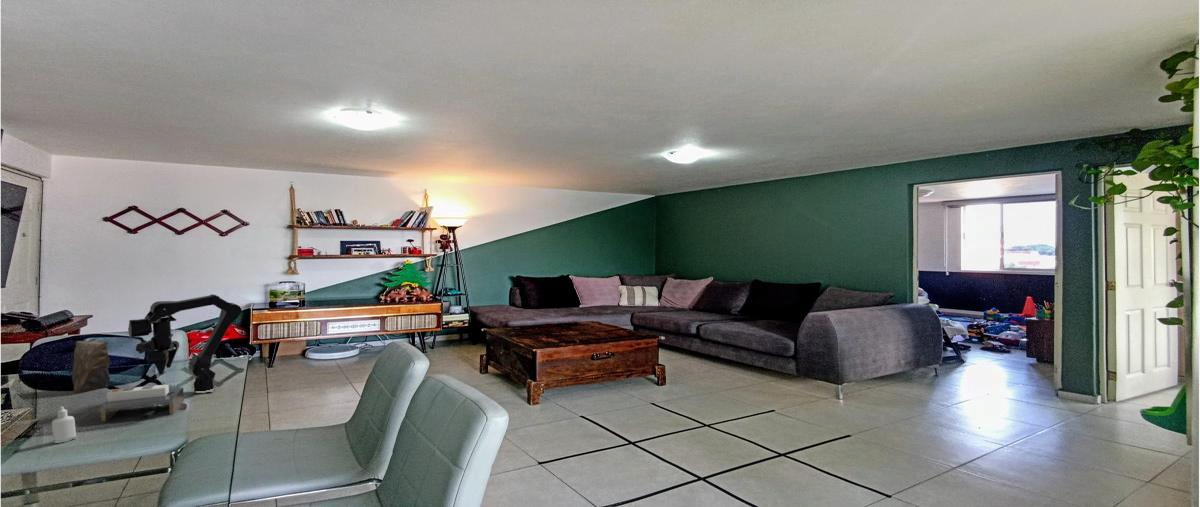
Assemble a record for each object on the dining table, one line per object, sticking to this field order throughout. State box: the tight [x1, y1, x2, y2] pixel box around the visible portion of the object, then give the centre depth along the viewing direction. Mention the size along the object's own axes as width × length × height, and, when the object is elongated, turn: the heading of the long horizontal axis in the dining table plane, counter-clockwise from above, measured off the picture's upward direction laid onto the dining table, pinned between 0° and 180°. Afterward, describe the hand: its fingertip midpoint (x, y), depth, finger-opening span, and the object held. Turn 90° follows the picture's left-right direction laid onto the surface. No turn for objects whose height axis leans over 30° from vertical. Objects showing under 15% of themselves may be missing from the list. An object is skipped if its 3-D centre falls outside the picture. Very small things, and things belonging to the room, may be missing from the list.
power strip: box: [106, 384, 170, 409], centre depth 224 cm, size 18×4×7 cm, turn 112°
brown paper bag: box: [71, 339, 111, 395], centre depth 249 cm, size 13×13×20 cm
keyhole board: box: [100, 386, 185, 423], centre depth 224 cm, size 22×14×6 cm, turn 112°
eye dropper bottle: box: [51, 406, 77, 440], centre depth 198 cm, size 4×6×12 cm
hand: (164, 370), depth 236 cm, fingers open, 9 cm apart
